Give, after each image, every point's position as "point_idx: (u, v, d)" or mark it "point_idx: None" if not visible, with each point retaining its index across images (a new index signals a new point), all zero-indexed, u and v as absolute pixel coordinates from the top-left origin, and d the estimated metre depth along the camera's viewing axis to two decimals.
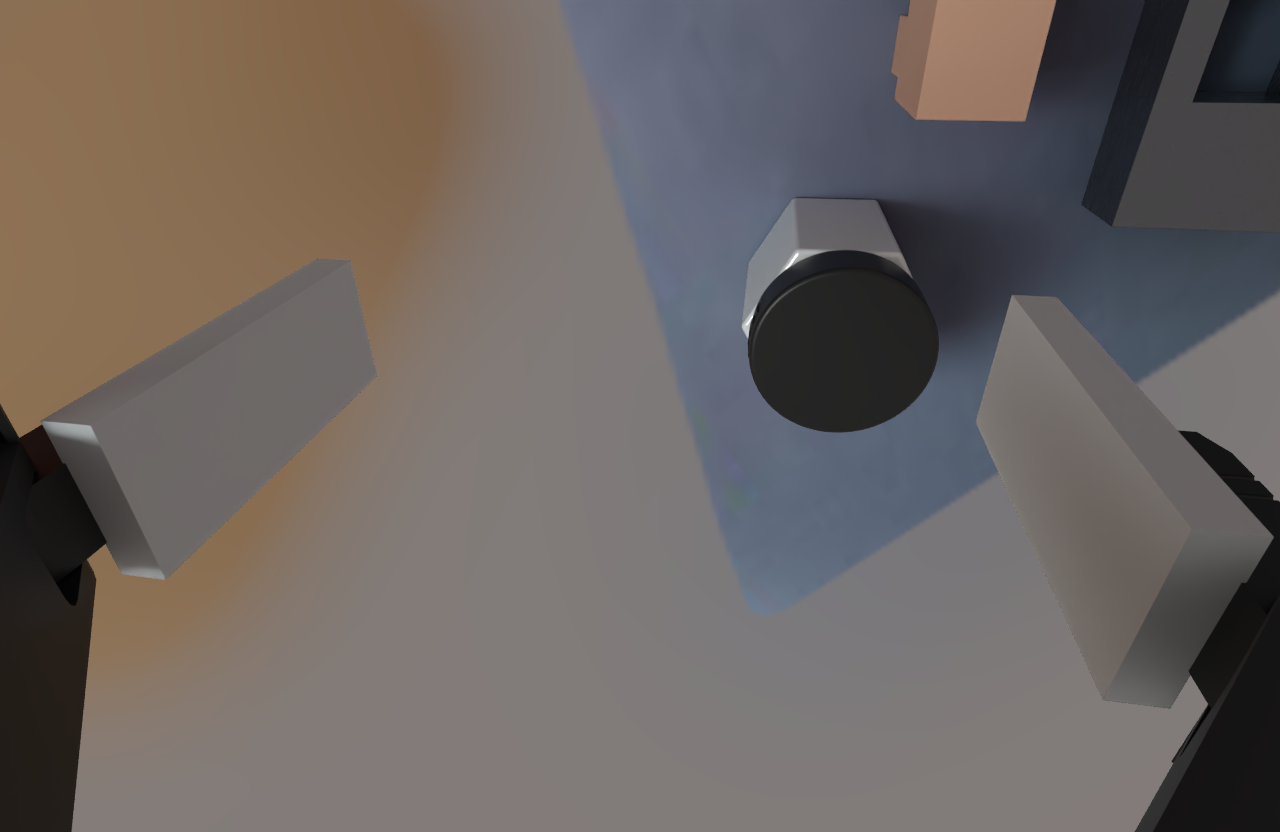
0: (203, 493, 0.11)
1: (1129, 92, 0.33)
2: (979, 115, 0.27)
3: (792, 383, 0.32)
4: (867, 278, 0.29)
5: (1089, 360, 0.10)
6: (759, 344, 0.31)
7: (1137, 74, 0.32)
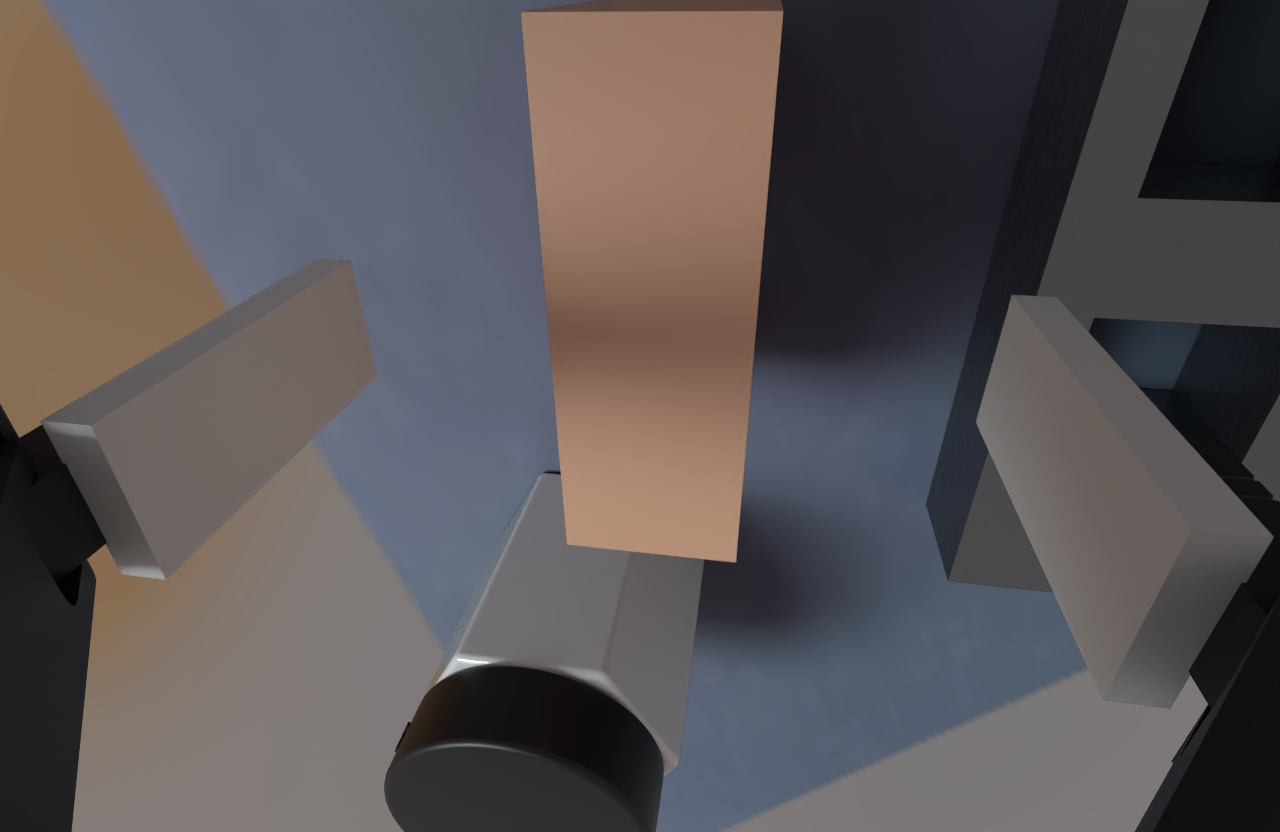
0: (203, 493, 0.11)
1: (970, 394, 0.22)
2: (663, 549, 0.16)
3: None
4: (520, 757, 0.18)
5: (1089, 360, 0.10)
6: (395, 802, 0.21)
7: (978, 375, 0.22)
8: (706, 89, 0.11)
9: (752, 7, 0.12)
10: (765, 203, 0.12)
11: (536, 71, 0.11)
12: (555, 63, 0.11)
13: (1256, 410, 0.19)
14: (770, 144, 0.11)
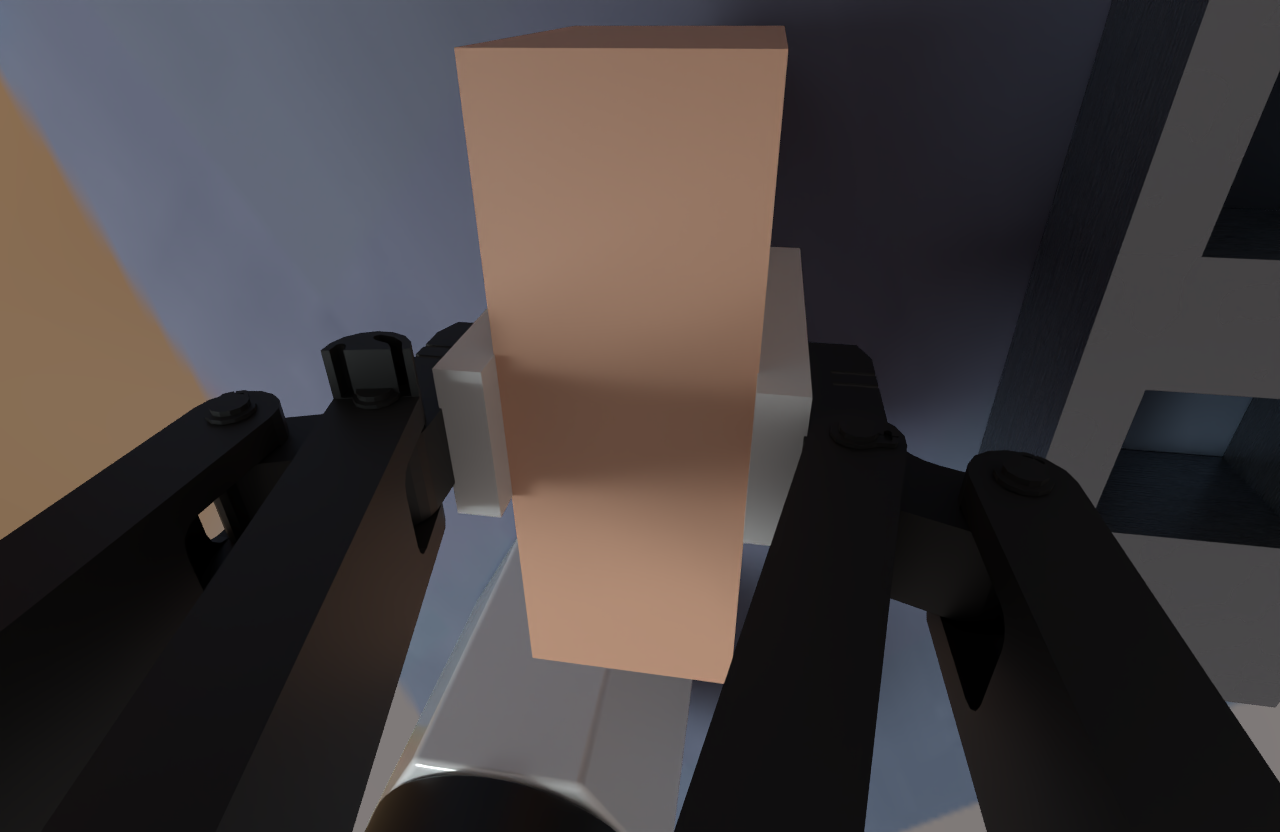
0: None
1: None
2: (644, 666, 0.14)
3: None
4: None
5: (784, 291, 0.13)
6: None
7: (1004, 442, 0.19)
8: (690, 146, 0.09)
9: (749, 41, 0.09)
10: (765, 283, 0.09)
11: (476, 121, 0.09)
12: (499, 111, 0.09)
13: None
14: (771, 213, 0.09)
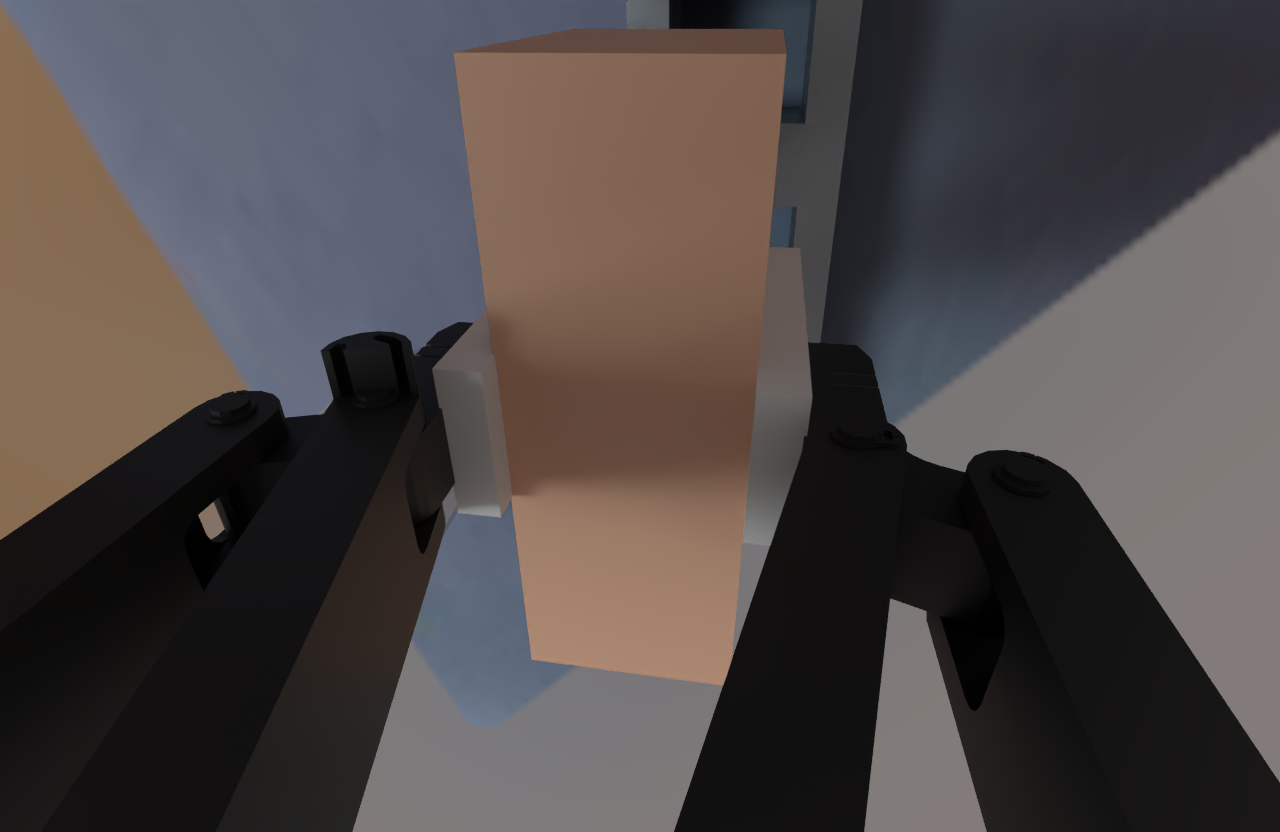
0: None
1: None
2: (643, 668, 0.14)
3: None
4: None
5: (784, 291, 0.13)
6: None
7: None
8: (689, 151, 0.09)
9: (747, 45, 0.09)
10: (763, 287, 0.09)
11: (475, 125, 0.09)
12: (499, 115, 0.09)
13: None
14: (770, 217, 0.09)
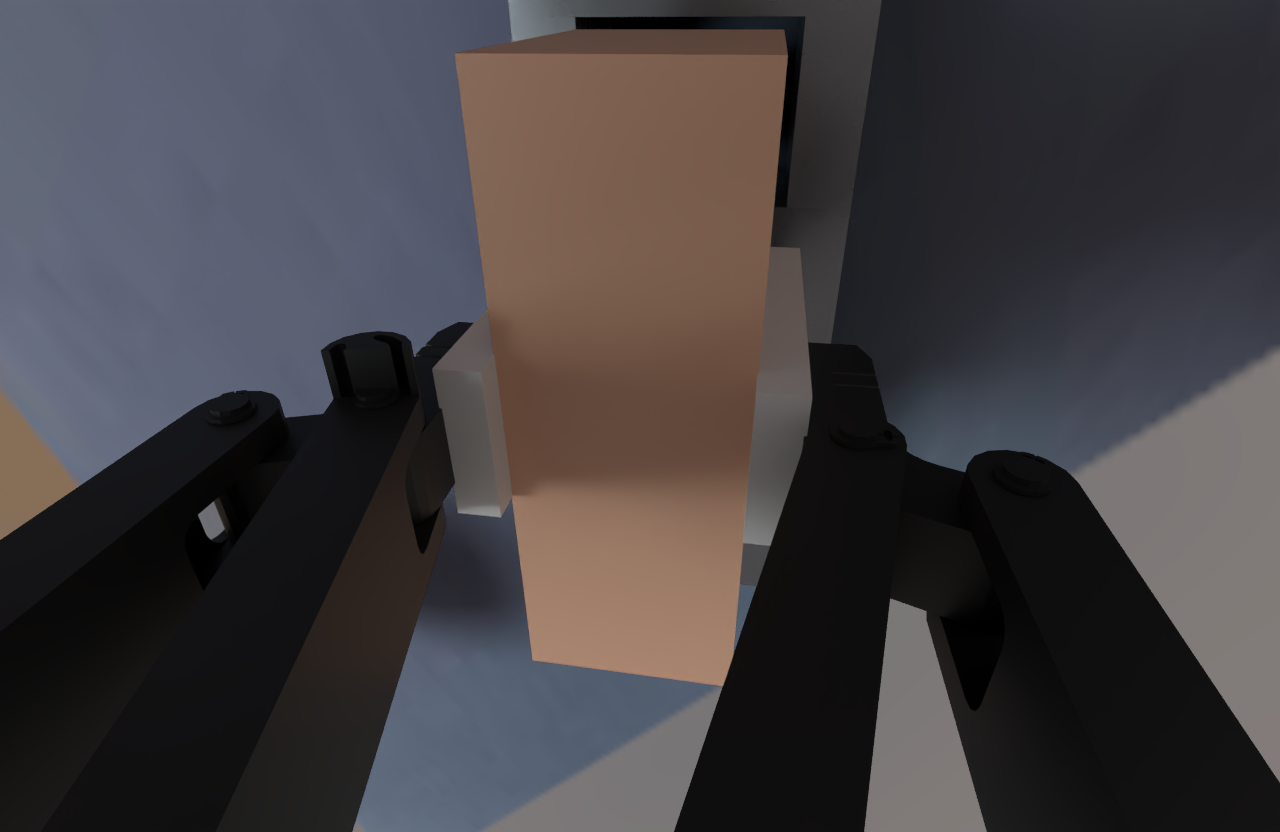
0: None
1: None
2: (644, 669, 0.14)
3: None
4: None
5: (784, 291, 0.13)
6: None
7: None
8: (690, 151, 0.09)
9: (748, 46, 0.09)
10: (764, 288, 0.09)
11: (476, 126, 0.09)
12: (500, 116, 0.09)
13: None
14: (771, 218, 0.09)
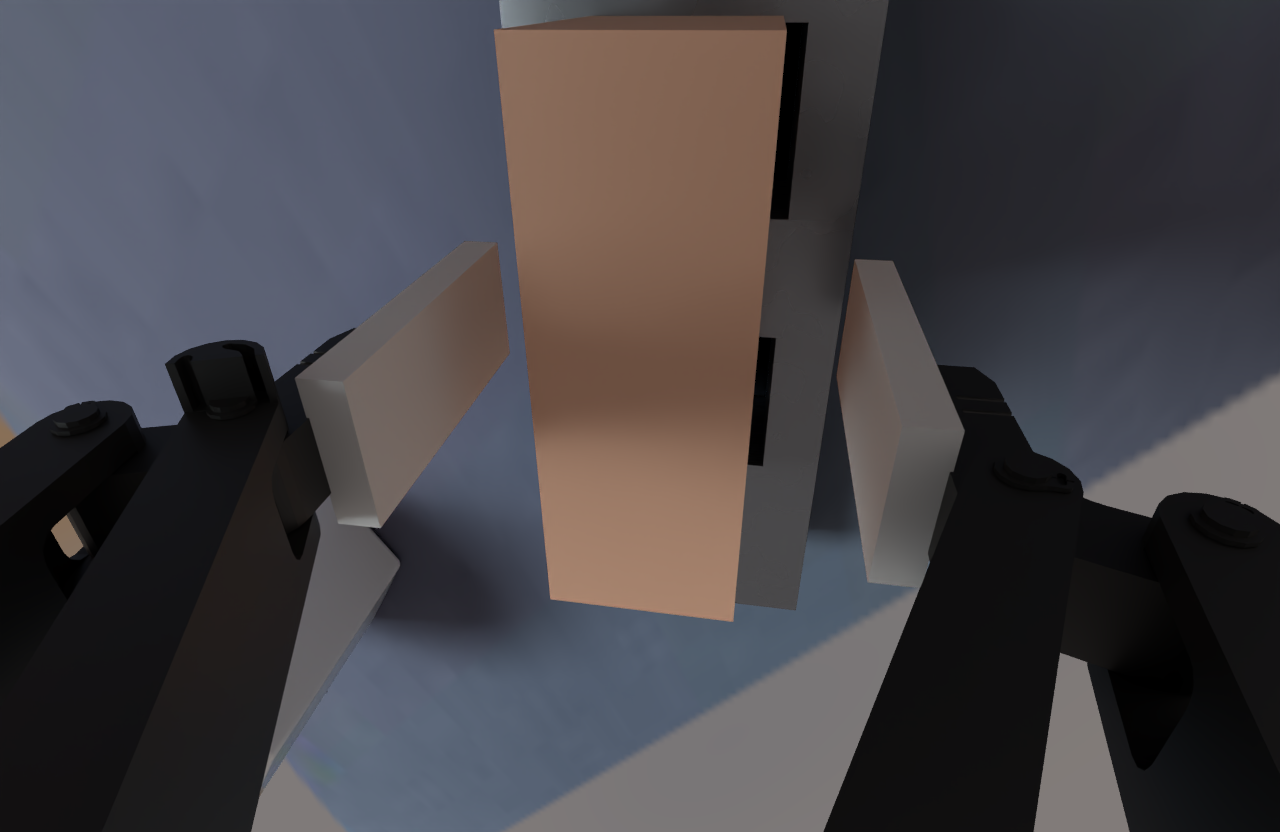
0: (404, 451, 0.12)
1: None
2: (654, 605, 0.15)
3: None
4: None
5: (892, 309, 0.12)
6: None
7: None
8: (701, 116, 0.10)
9: (752, 25, 0.10)
10: (766, 241, 0.11)
11: (511, 95, 0.10)
12: (532, 86, 0.10)
13: (767, 415, 0.20)
14: (771, 177, 0.10)
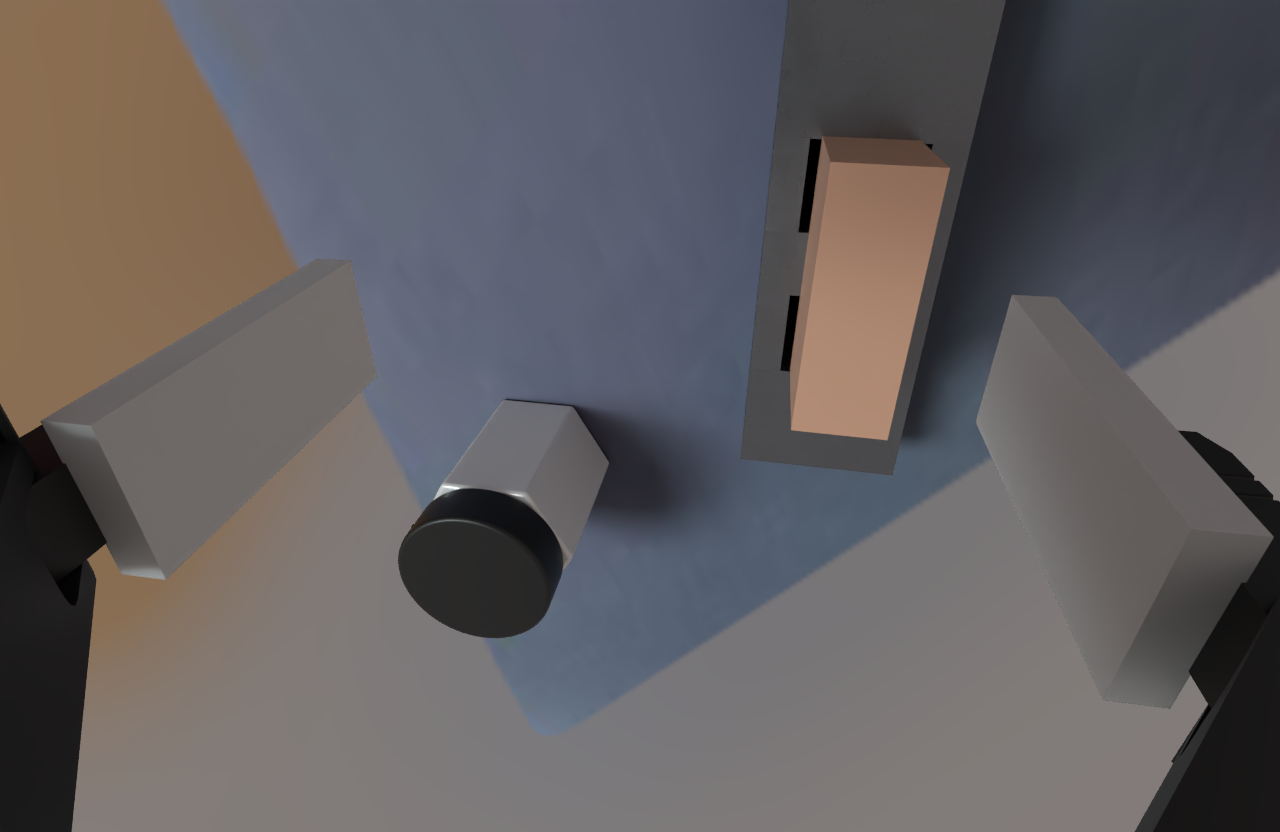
0: (203, 493, 0.11)
1: None
2: (846, 432, 0.30)
3: (439, 598, 0.36)
4: (475, 526, 0.33)
5: (1089, 360, 0.10)
6: (404, 567, 0.36)
7: (753, 333, 0.37)
8: (910, 198, 0.25)
9: (928, 159, 0.25)
10: (930, 248, 0.25)
11: (831, 186, 0.25)
12: (841, 183, 0.25)
13: None
14: (936, 222, 0.25)
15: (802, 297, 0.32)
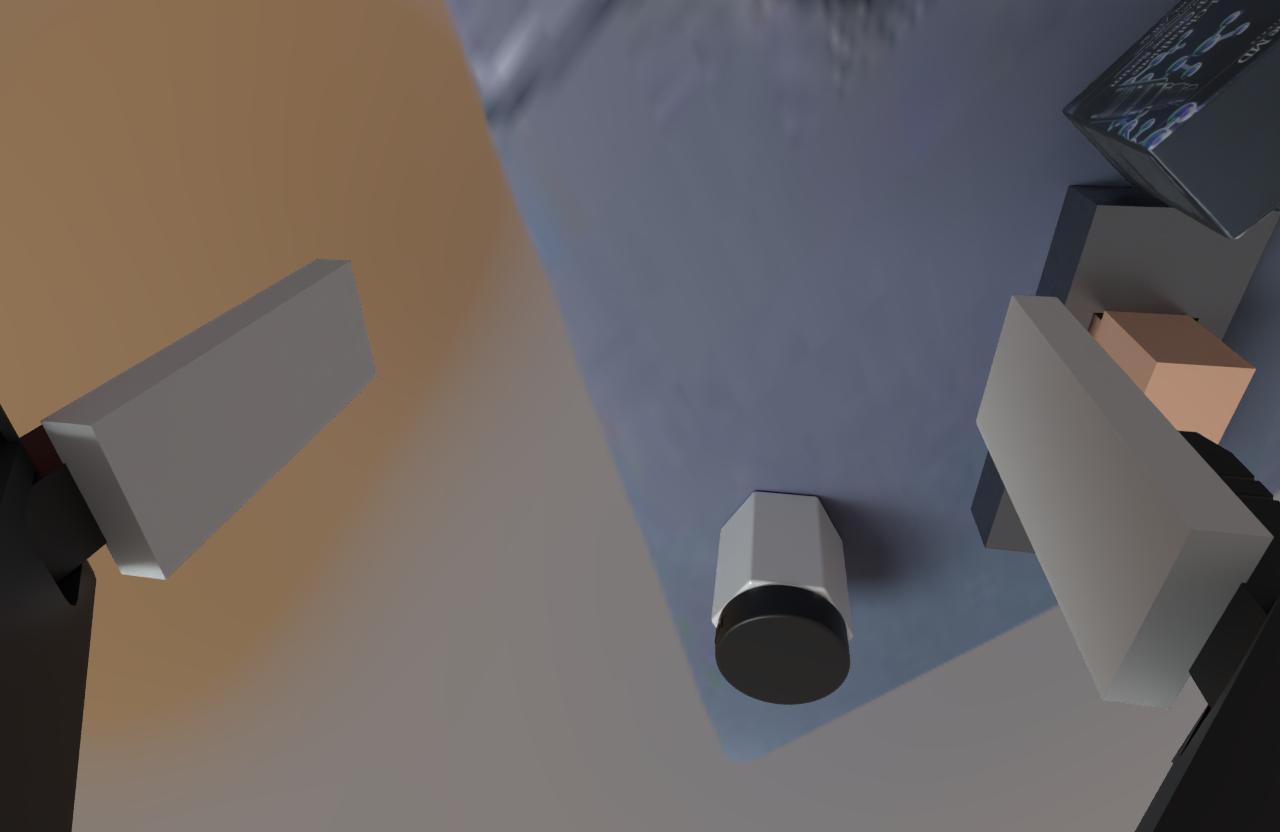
0: (203, 493, 0.11)
1: None
2: None
3: (747, 674, 0.44)
4: (797, 621, 0.41)
5: (1089, 360, 0.10)
6: (722, 651, 0.43)
7: None
8: (1219, 388, 0.32)
9: (1227, 354, 0.32)
10: (1227, 422, 0.32)
11: (1154, 379, 0.32)
12: (1163, 377, 0.32)
13: None
14: (1236, 404, 0.32)
15: None
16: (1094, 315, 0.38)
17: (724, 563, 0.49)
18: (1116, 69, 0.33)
